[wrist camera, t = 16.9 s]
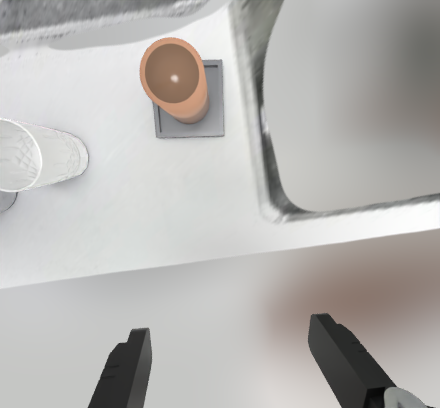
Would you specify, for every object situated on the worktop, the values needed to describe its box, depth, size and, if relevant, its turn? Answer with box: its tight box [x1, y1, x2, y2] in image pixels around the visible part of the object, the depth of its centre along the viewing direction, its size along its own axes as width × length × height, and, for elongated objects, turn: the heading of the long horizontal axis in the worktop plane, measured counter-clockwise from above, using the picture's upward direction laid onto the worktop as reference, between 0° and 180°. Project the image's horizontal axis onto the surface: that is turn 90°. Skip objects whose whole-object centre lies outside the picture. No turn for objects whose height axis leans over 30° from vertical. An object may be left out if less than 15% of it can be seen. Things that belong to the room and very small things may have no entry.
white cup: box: [0, 118, 89, 192], centre depth 29 cm, size 8×8×10 cm
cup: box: [140, 38, 210, 124], centre depth 26 cm, size 6×6×11 cm
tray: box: [153, 60, 224, 138], centre depth 31 cm, size 10×10×2 cm
